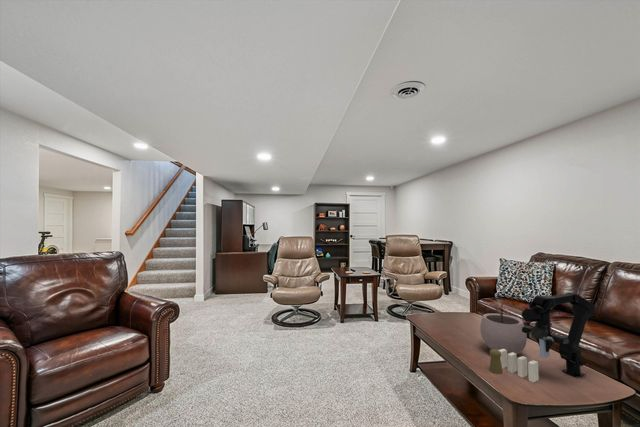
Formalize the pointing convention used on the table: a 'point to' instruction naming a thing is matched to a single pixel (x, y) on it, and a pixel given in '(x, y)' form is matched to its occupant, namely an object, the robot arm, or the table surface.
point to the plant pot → (503, 332)
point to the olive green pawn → (495, 361)
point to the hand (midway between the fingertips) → (544, 351)
